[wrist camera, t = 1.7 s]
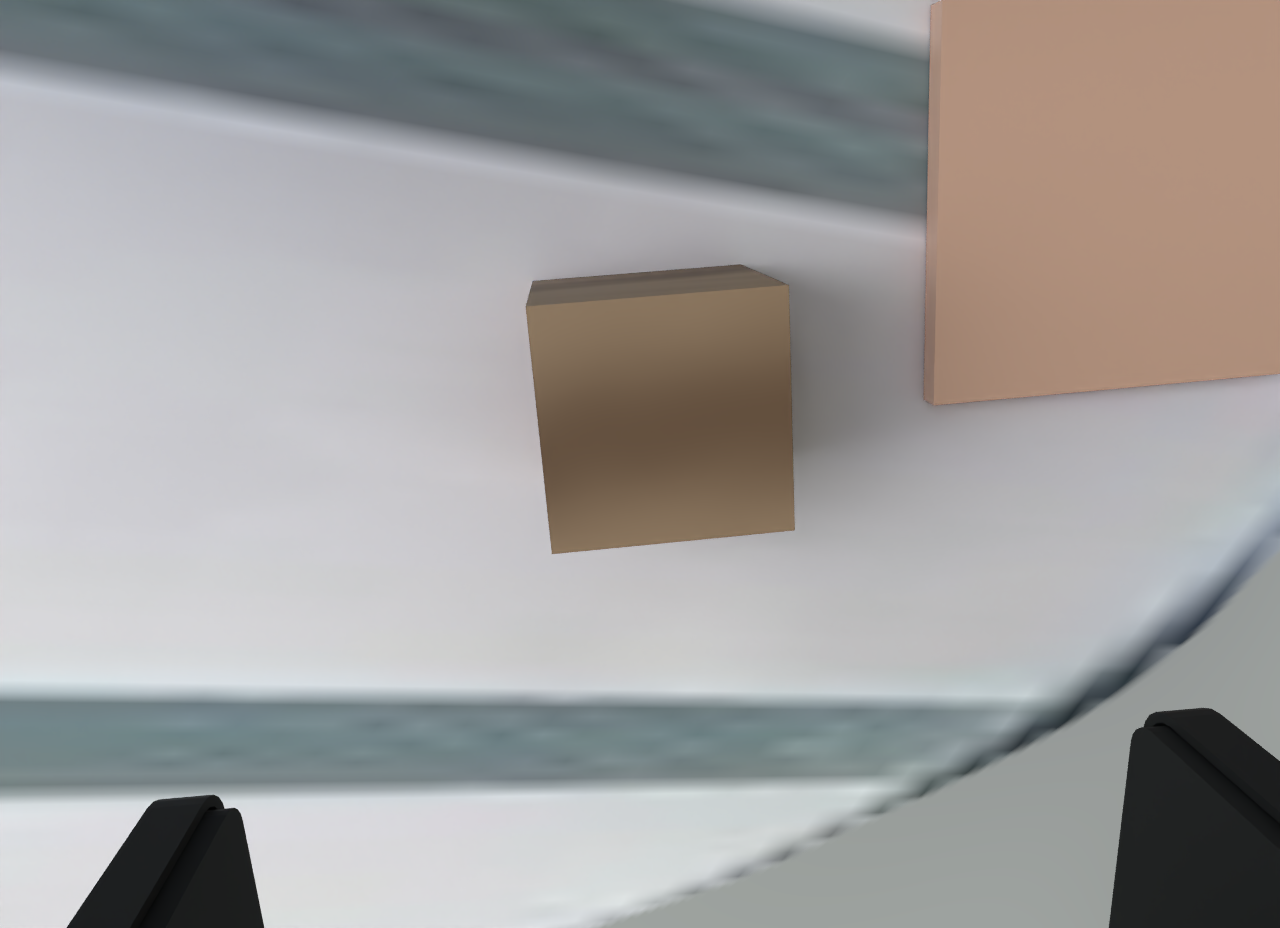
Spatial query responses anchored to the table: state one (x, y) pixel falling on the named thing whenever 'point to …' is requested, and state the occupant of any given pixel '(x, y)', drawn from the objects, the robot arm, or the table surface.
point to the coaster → (1101, 195)
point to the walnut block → (663, 406)
